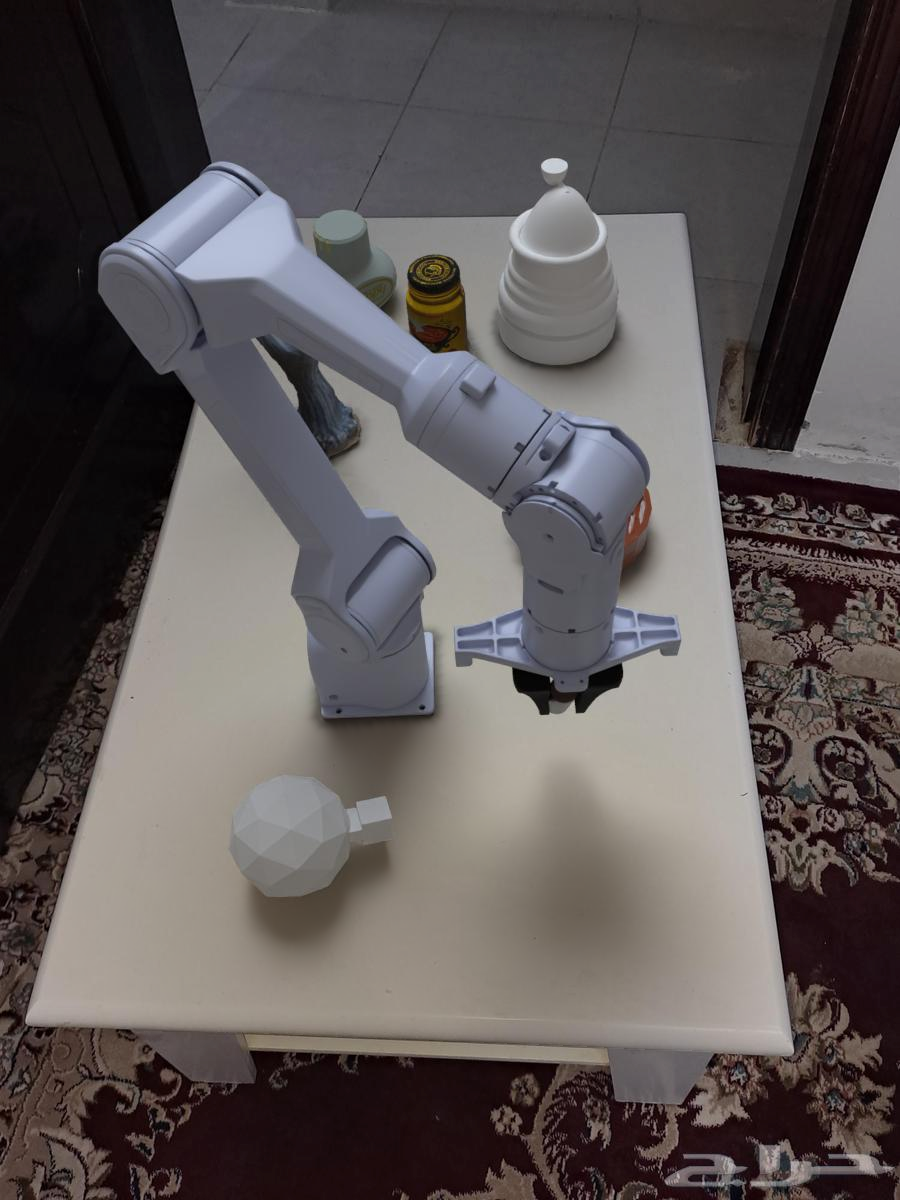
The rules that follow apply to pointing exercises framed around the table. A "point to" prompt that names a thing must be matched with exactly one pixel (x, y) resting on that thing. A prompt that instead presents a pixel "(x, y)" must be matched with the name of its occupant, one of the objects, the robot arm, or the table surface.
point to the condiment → (437, 305)
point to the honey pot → (558, 278)
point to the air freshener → (354, 255)
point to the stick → (560, 700)
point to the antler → (315, 397)
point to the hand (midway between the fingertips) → (560, 702)
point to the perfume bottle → (300, 834)
